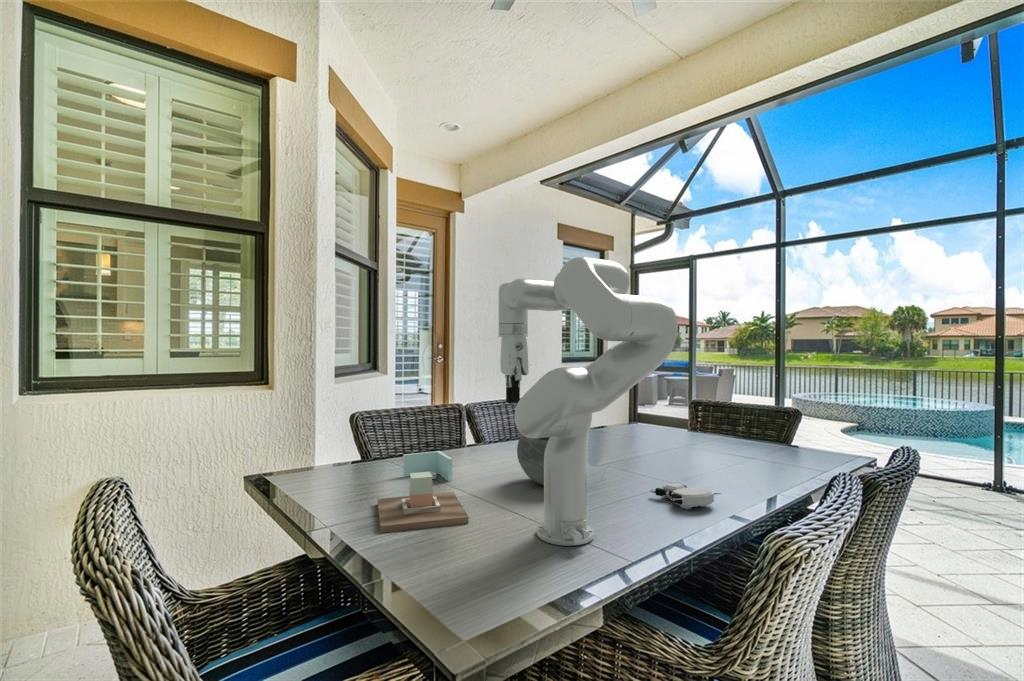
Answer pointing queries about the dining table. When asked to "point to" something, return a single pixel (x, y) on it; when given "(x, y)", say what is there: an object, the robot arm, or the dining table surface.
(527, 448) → the bowl
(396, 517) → the walnut board
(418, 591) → the dining table surface
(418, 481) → the stack block
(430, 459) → the right angle wall
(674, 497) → the robot toy
